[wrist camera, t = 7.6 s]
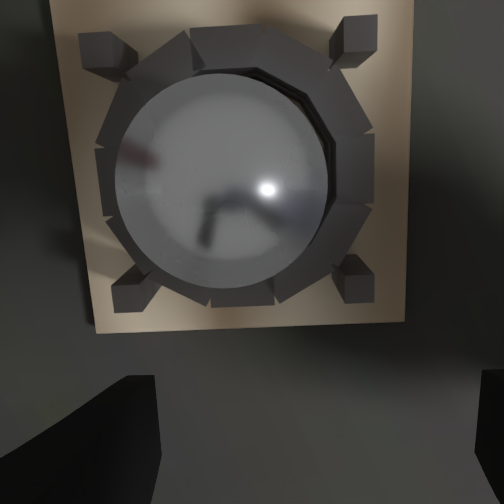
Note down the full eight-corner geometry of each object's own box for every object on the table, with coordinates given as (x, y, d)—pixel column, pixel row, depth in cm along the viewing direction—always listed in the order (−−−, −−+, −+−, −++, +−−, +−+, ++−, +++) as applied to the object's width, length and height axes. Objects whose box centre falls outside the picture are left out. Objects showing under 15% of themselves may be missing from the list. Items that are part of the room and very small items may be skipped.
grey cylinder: (300, 104, 17) (333, 69, 9) (298, 225, 18) (327, 290, 10) (177, 105, 17) (103, 72, 9) (183, 226, 18) (121, 290, 10)
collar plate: (409, -21, 16) (450, -68, 13) (400, 316, 19) (431, 354, 16) (56, 2, 17) (0, -37, 13) (101, 328, 19) (66, 367, 16)
